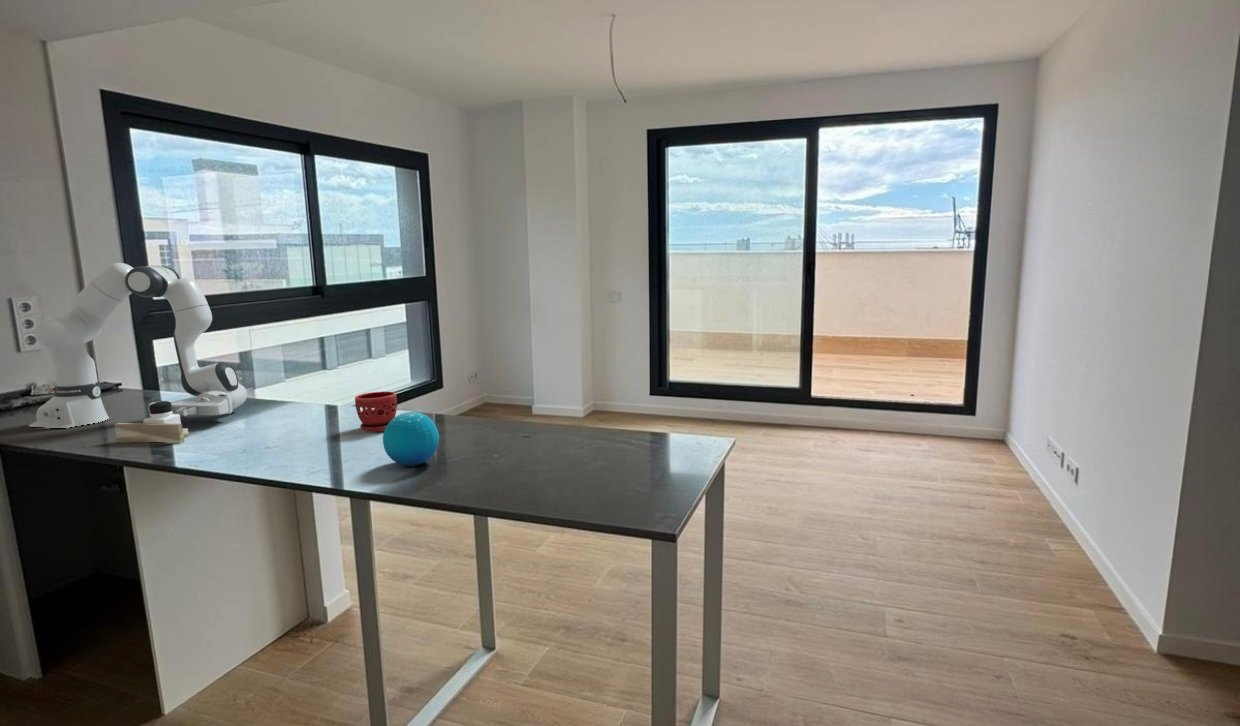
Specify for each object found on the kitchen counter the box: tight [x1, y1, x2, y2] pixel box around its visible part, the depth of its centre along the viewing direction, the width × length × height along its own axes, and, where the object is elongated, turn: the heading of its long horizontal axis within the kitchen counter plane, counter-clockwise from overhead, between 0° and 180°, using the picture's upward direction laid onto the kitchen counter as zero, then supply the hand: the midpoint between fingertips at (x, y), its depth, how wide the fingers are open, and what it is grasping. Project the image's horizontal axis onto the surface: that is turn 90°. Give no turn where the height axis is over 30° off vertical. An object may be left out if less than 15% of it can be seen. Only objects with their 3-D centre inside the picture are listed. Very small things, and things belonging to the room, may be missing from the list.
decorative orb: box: [382, 411, 440, 467], centre depth 178 cm, size 15×15×15 cm
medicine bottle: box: [142, 400, 182, 424], centre depth 209 cm, size 7×7×12 cm
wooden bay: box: [113, 422, 190, 444], centre depth 208 cm, size 8×22×6 cm, turn 84°
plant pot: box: [354, 391, 398, 433], centre depth 216 cm, size 13×13×12 cm
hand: (179, 413), depth 217 cm, fingers closed
